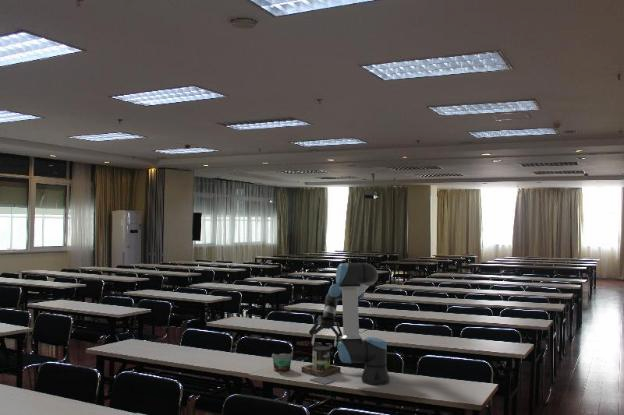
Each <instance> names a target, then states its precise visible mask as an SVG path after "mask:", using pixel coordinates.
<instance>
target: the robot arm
mask: <svg viewBox="0 0 624 415" xmlns="http://www.w3.org/2000/svg"><path fill="white" fill-rule="evenodd" d="M378 278H379V273H378V271H377V268H375V266H373V265H372V264H370V263H365V262H345V263H342V262H341V263H339V265H338V266H337V269H336V273H335V283H334V284H331V286H330V287H329V289H328V293H327V294H326V296H325V302H324V307H323V311H322V312H323V313H322V318H321V321H319V319H316V321H315V323H314V325H313V326H312V327H311V329H309V331H308V334H309V335H310V336H311V337H310V339H311V346H313V347H314V343H315V339H316V335H317V334H318V333H319V332H320V331H323V330H326V329H327V330H330V329H331V331H332V332H333V333H334V334H335V337H334V343H333V346H334V348H337V354H338V358H339V360H340V362H341V363H344V364H358V363H359V364H361V363H362V364H364V369H363V370H362V371H363V372H362V375H361V382H362V383H364V384H367V383H368V385H373V384H382V385H386V384H385V383H387V384H389V383H390V374H389V372H388V369H387V353H388V352H387V350H388V349H387V348H388V346H387V342H386V340H384V339H382V338H378V337H373V336H372V337H371V336H368V337H365V340H363V338H362V336H361V334H360V325H359V324H360V323H359V322H360V321H359V300H362V299H364V297H365V291H366V290H367V289H368V288H369V287H370V286H373V285H374V284H375V283H377V281H378ZM340 300H341V301H342V330H343V331H342V330H341V327H340V323H339V321H335V318H336V312H337V305H338V302H339V301H340ZM334 326H336V328H337V330H338V331H337V330H336V329H335V327H334ZM339 340H340V341H339ZM388 382H389V383H388Z"/></svg>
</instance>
